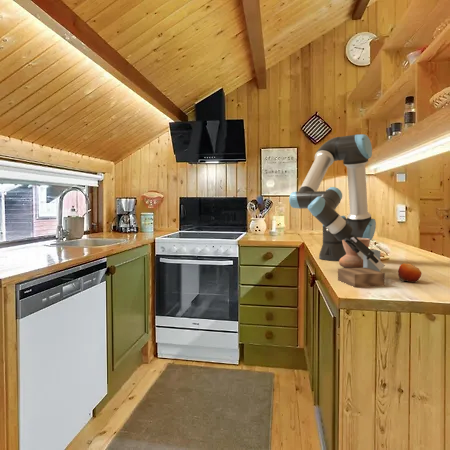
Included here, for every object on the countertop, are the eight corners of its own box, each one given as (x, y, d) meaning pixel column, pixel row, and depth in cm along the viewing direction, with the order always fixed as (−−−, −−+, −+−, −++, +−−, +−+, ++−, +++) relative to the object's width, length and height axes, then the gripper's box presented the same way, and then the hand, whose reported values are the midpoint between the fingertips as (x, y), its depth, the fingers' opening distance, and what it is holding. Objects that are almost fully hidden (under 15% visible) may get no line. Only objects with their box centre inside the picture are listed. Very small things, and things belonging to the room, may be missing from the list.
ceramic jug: (333, 266, 174) (334, 236, 173) (363, 265, 174) (364, 236, 173) (347, 273, 156) (347, 240, 155) (380, 273, 156) (381, 240, 155)
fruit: (389, 275, 144) (401, 258, 143) (407, 285, 143) (418, 268, 142) (397, 279, 136) (409, 261, 135) (415, 290, 135) (427, 272, 134)
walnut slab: (365, 279, 144) (365, 267, 143) (384, 286, 132) (384, 273, 132) (337, 281, 141) (338, 268, 141) (354, 288, 130) (354, 274, 129)
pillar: (363, 275, 150) (363, 249, 150) (375, 275, 150) (375, 249, 150) (367, 278, 145) (367, 251, 145) (379, 278, 145) (380, 251, 145)
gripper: (325, 232, 160) (359, 266, 160) (340, 237, 135) (380, 277, 135) (338, 220, 159) (372, 254, 159) (355, 223, 134) (395, 263, 135)
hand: (376, 265), depth 147 cm, fingers open, 13 cm apart
